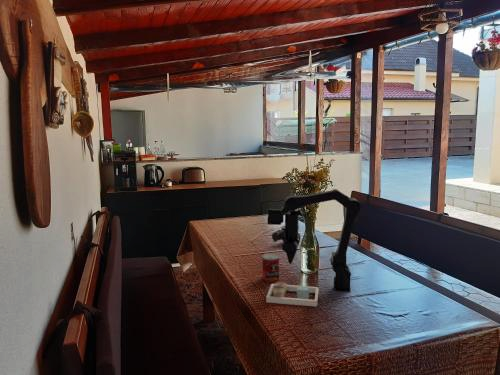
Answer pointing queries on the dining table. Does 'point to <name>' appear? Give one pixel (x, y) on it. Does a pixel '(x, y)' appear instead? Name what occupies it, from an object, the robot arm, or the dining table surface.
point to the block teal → (302, 292)
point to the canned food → (271, 267)
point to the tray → (292, 300)
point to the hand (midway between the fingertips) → (291, 260)
